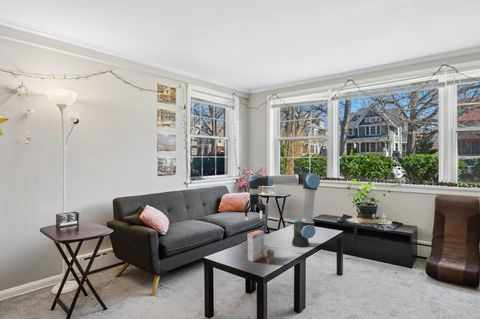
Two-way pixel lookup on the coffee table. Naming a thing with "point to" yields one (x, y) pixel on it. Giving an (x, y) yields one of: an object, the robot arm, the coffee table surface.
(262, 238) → the cracker box
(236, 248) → the coffee table surface
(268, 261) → the walnut block
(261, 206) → the robot arm
